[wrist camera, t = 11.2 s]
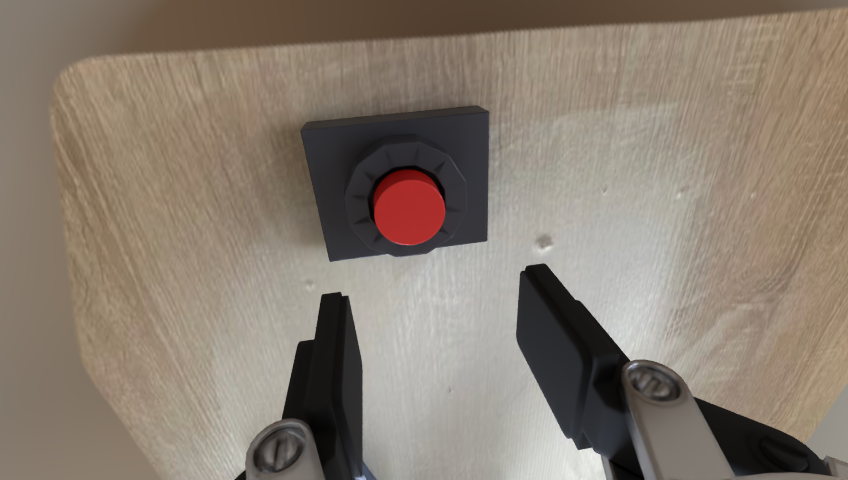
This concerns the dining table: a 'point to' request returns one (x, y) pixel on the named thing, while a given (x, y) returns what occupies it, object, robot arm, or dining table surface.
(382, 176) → the button box
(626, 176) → the dining table surface
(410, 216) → the button
